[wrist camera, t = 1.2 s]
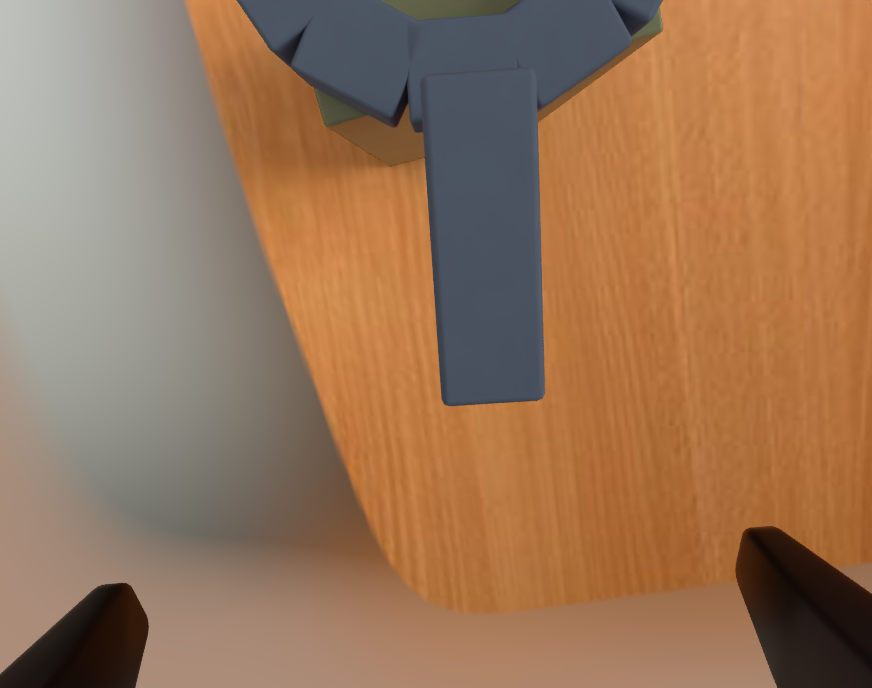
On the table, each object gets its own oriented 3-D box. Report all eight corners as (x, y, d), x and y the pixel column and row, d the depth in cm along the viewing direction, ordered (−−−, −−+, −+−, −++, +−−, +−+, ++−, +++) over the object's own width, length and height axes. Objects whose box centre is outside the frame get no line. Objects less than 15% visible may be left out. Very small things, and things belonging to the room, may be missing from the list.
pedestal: (532, 127, 20) (665, 30, 8) (389, 167, 21) (325, 127, 9) (497, -34, 19) (594, -406, 7) (346, 11, 19) (207, -276, 8)
